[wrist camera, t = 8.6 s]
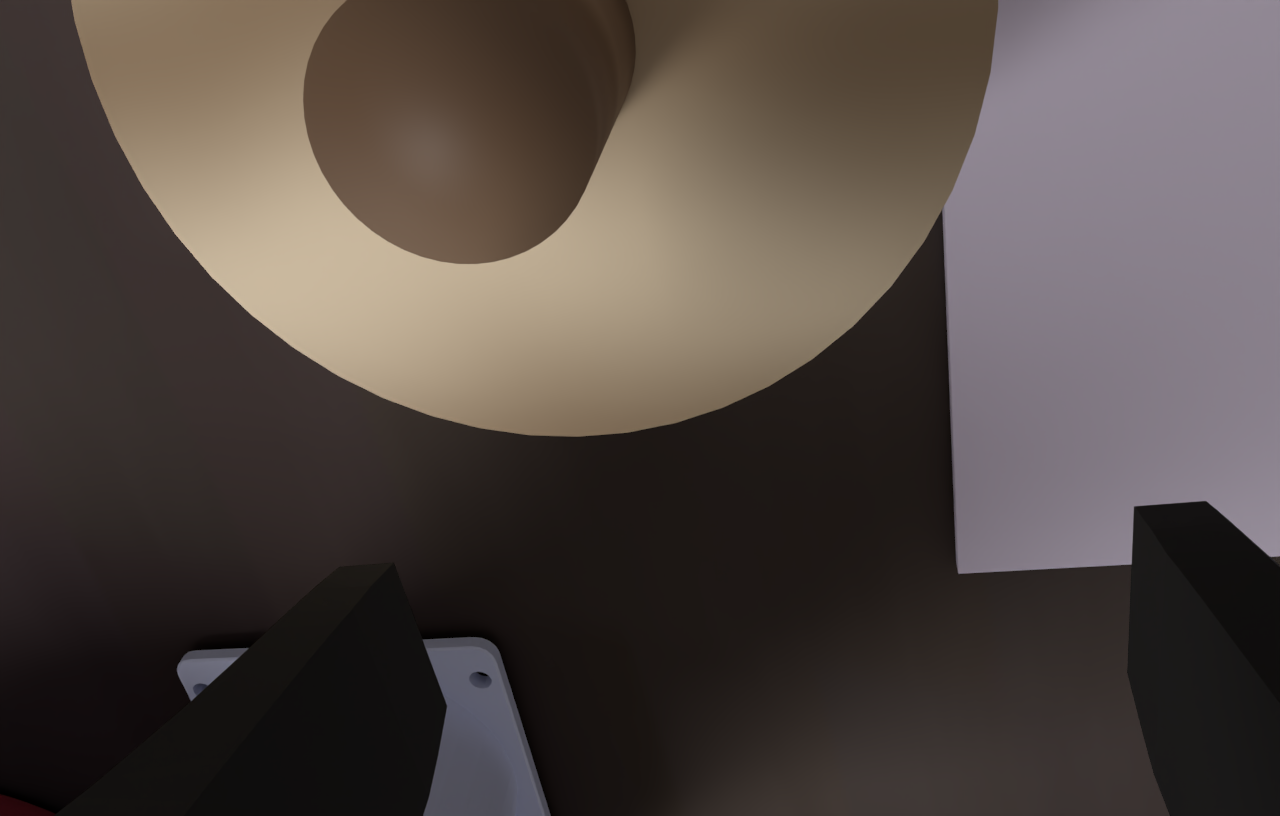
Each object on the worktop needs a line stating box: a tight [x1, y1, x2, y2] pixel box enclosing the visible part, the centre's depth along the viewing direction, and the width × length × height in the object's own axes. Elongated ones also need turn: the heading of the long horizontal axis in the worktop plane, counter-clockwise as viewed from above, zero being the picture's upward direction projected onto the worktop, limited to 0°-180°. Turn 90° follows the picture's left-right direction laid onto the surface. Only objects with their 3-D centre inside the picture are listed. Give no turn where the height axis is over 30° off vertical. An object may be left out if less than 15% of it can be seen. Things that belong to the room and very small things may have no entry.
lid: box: [71, 0, 998, 437], centre depth 13 cm, size 11×11×5 cm
